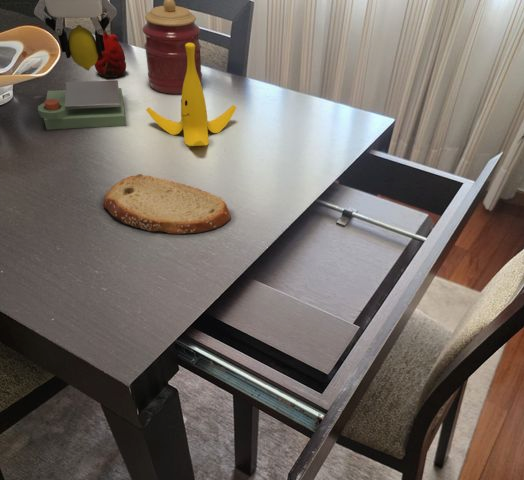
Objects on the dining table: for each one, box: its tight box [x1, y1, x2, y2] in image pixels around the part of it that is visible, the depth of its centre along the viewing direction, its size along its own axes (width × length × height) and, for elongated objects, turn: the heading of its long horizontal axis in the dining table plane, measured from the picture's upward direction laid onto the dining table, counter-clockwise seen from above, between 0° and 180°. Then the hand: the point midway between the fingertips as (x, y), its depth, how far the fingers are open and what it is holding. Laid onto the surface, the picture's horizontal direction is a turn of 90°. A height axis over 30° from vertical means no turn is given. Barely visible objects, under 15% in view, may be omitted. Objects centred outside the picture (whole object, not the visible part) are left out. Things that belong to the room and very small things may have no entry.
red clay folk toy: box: [94, 10, 127, 79], centre depth 116 cm, size 8×7×15 cm
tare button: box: [43, 99, 60, 110], centre depth 99 cm, size 3×3×1 cm
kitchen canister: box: [142, 0, 203, 95], centre depth 113 cm, size 13×13×18 cm
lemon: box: [67, 24, 98, 71], centre depth 97 cm, size 6×6×8 cm
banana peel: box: [145, 43, 237, 147], centre depth 97 cm, size 17×19×17 cm
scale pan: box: [65, 79, 121, 109], centre depth 104 cm, size 11×13×1 cm
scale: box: [37, 87, 127, 131], centre depth 105 cm, size 17×15×4 cm
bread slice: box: [102, 173, 232, 235], centre depth 81 cm, size 18×18×4 cm
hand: (84, 54), depth 98 cm, fingers closed on lemon, 5 cm apart
